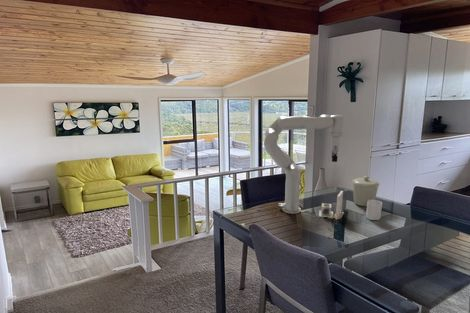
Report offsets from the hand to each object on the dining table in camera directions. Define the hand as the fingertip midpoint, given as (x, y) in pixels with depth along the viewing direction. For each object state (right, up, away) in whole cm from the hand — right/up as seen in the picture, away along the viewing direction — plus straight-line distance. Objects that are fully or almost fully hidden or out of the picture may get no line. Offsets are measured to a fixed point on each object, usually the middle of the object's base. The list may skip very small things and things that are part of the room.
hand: (334, 159), depth 220 cm
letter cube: (-5, -36, +3) cm, 37 cm away
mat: (-5, -37, +3) cm, 37 cm away
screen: (+3, -37, +1) cm, 38 cm away
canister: (+27, -32, +20) cm, 47 cm away
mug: (+25, -38, -1) cm, 46 cm away
